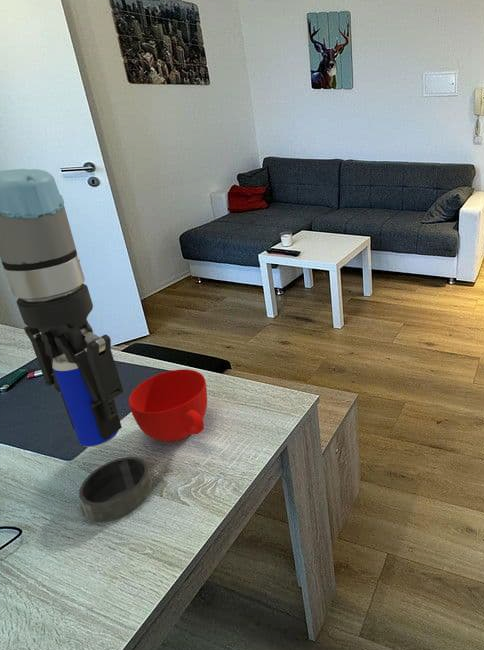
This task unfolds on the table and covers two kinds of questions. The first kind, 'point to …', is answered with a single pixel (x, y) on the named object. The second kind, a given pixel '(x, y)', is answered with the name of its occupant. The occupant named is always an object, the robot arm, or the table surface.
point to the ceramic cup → (170, 405)
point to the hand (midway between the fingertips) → (97, 427)
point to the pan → (115, 489)
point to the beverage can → (78, 402)
